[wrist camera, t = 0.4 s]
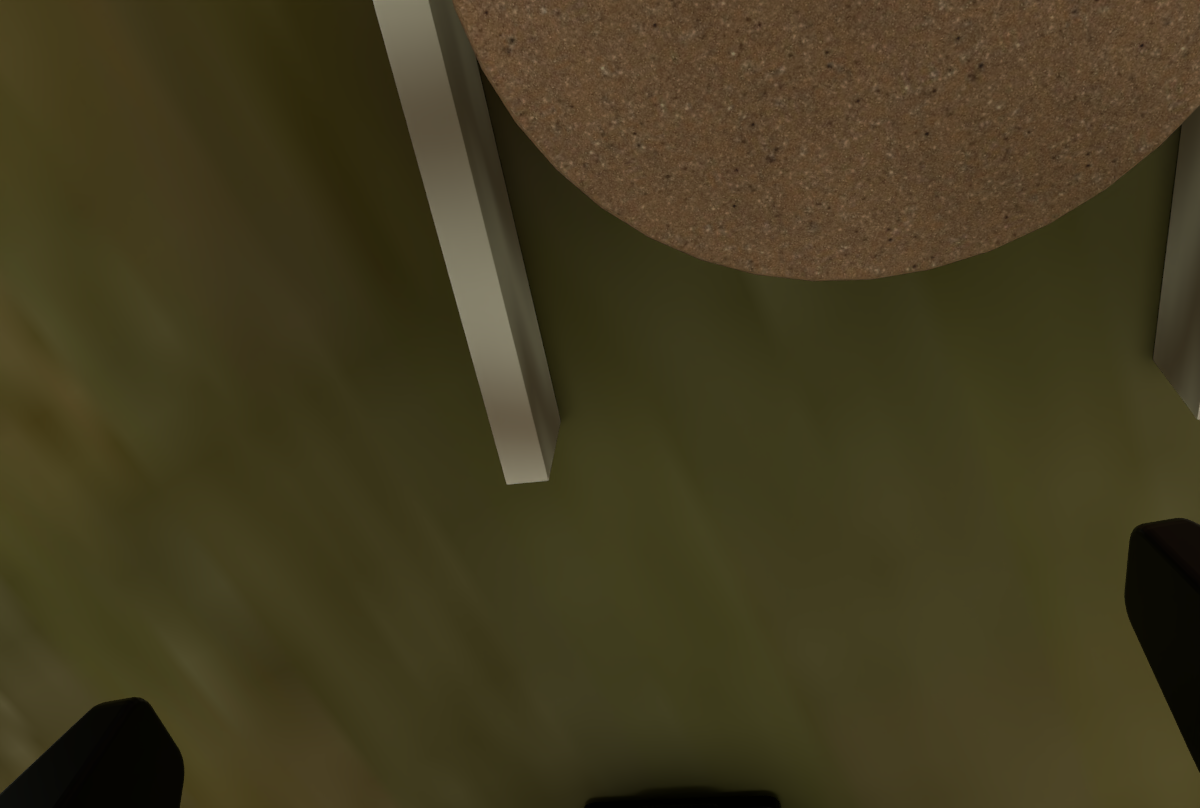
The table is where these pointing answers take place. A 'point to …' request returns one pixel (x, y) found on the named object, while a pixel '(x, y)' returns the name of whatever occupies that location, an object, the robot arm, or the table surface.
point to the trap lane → (496, 269)
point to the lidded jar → (840, 117)
